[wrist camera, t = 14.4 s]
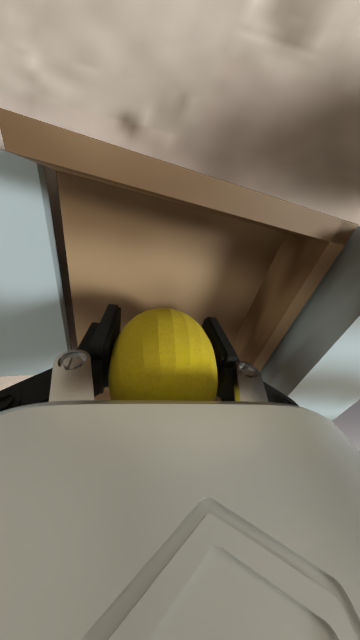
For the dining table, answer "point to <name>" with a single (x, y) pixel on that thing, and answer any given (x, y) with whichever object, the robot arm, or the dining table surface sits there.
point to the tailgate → (28, 272)
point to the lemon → (163, 359)
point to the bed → (206, 260)
